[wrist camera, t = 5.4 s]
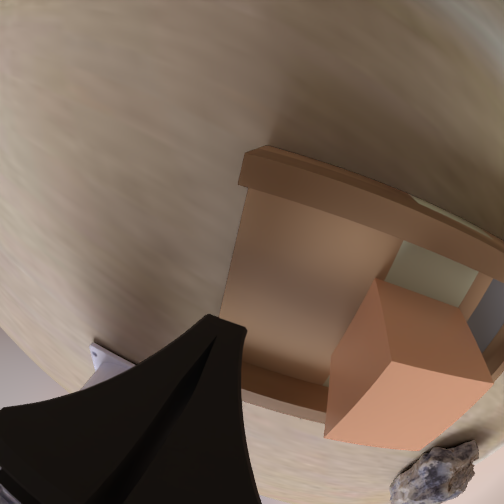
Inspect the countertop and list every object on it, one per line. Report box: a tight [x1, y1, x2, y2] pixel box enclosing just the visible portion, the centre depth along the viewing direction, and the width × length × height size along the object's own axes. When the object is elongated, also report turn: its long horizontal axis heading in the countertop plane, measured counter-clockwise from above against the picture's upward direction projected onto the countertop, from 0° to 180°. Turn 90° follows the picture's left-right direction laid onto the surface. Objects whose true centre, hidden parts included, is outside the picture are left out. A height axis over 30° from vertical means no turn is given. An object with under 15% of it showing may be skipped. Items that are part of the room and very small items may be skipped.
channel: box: [219, 145, 504, 424], centre depth 11 cm, size 11×16×3 cm
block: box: [324, 278, 494, 451], centre depth 9 cm, size 4×4×4 cm
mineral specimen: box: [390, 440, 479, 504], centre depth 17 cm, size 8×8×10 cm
